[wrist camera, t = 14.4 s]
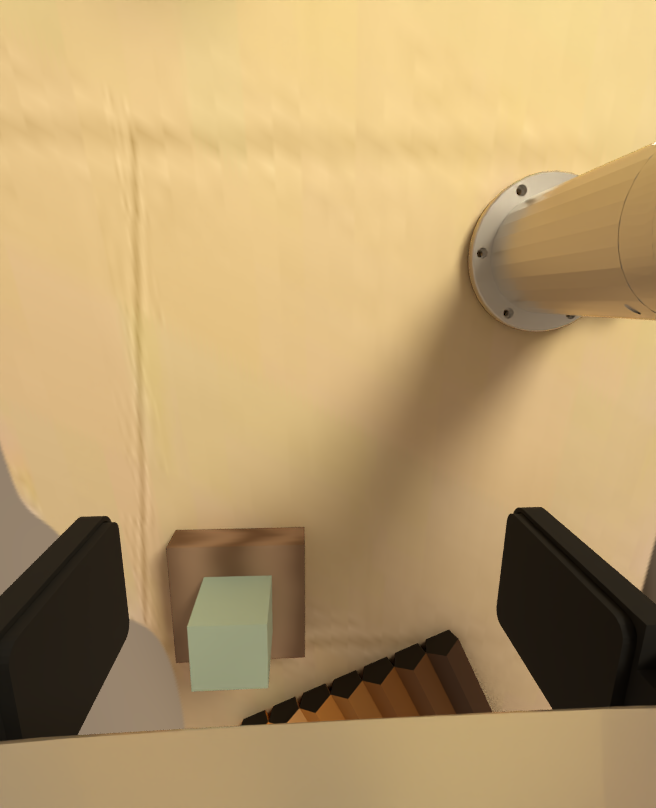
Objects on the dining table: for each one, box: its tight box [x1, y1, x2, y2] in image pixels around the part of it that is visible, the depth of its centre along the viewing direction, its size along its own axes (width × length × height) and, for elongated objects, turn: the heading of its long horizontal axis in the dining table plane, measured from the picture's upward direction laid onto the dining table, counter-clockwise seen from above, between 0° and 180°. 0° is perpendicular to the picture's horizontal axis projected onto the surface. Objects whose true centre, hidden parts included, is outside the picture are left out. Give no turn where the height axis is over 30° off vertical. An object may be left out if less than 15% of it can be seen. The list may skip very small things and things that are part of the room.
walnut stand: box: [166, 527, 305, 663], centre depth 41 cm, size 12×12×3 cm
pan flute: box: [241, 630, 492, 726], centre depth 48 cm, size 25×3×25 cm
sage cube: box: [187, 575, 273, 691], centre depth 36 cm, size 6×6×6 cm
